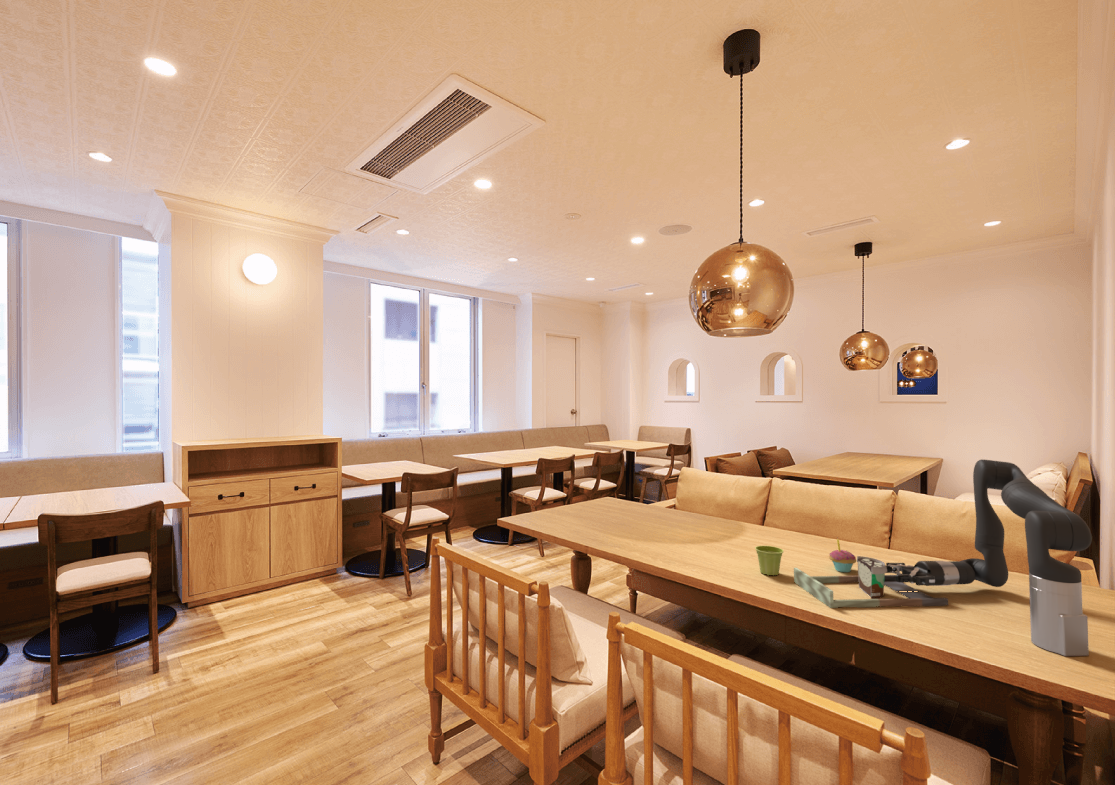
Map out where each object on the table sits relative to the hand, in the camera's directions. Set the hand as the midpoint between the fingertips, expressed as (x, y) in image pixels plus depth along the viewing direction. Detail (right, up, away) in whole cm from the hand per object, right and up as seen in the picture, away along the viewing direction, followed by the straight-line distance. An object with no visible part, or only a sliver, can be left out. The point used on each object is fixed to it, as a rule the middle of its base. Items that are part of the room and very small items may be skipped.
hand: (887, 573), depth 158 cm
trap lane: (-7, -6, -1) cm, 9 cm away
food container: (-4, -6, 0) cm, 7 cm away
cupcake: (-2, -7, +22) cm, 23 cm away
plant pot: (-30, -7, +19) cm, 36 cm away
